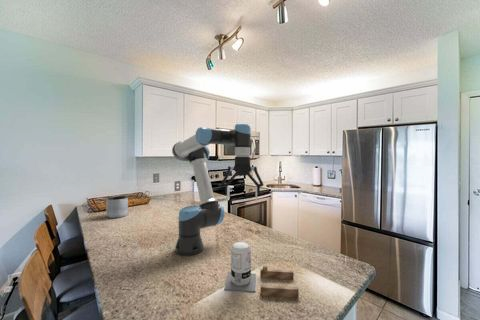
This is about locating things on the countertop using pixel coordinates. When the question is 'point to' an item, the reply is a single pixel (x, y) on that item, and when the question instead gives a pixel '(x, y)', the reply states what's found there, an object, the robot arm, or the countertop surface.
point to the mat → (247, 288)
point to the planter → (116, 206)
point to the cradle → (278, 290)
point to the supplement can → (241, 263)
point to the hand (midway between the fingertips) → (242, 200)
